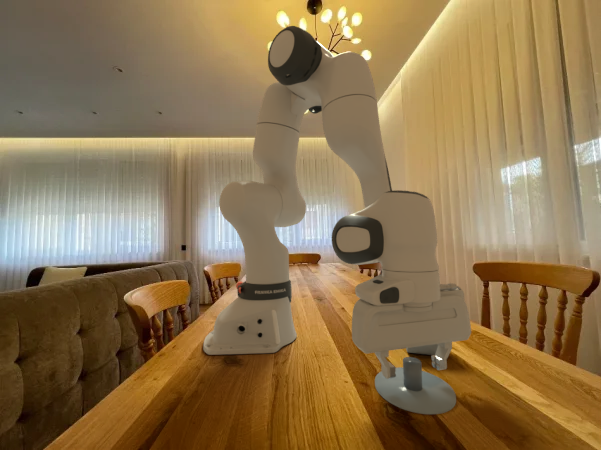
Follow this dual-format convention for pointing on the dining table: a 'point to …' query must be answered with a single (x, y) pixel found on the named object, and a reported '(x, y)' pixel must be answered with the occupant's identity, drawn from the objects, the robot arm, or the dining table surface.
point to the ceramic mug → (424, 349)
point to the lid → (416, 389)
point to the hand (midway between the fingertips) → (414, 372)
